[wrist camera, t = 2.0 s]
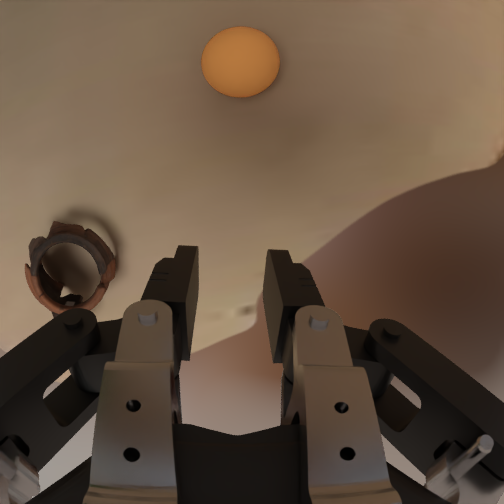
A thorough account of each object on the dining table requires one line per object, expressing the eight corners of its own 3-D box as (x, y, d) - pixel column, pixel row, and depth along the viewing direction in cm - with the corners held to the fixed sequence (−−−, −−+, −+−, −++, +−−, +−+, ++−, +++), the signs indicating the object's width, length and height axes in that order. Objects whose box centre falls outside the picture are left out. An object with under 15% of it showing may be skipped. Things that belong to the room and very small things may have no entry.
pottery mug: (29, 217, 25) (13, 227, 18) (110, 213, 30) (119, 221, 23) (41, 323, 28) (35, 359, 21) (115, 316, 33) (127, 350, 26)
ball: (202, 97, 22) (194, 94, 17) (207, 35, 19) (201, 15, 14) (271, 101, 22) (282, 99, 17) (276, 39, 20) (288, 21, 15)
